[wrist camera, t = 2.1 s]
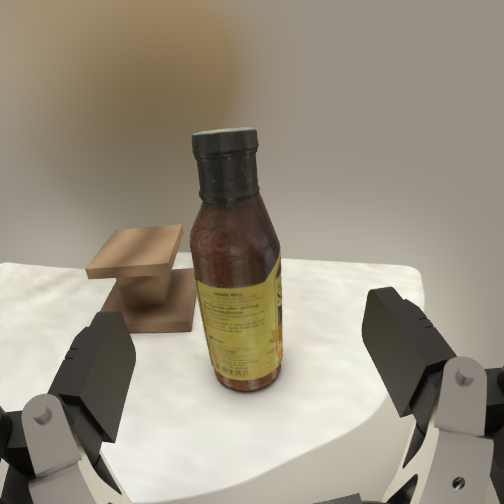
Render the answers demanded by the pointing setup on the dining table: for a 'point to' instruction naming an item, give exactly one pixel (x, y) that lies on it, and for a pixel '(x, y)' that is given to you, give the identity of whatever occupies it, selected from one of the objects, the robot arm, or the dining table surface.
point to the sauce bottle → (236, 261)
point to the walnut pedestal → (147, 279)
